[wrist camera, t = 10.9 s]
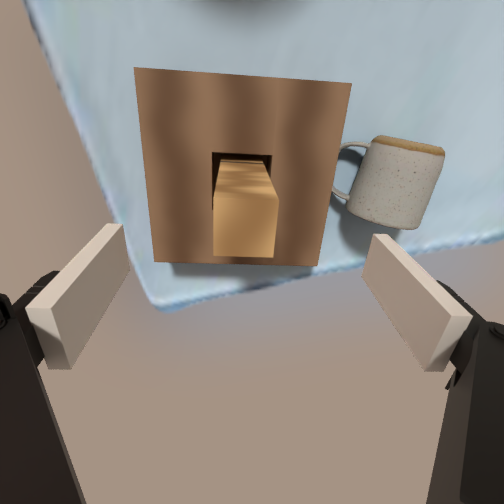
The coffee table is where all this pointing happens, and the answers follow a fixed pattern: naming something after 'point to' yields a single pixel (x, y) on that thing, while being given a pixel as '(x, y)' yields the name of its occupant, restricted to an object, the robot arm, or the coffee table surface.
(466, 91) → the coffee table surface
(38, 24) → the coffee table surface
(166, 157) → the walnut socket block
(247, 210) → the oak peg
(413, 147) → the ceramic mug
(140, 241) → the coffee table surface
